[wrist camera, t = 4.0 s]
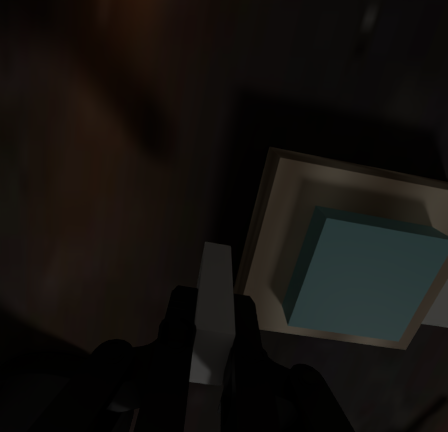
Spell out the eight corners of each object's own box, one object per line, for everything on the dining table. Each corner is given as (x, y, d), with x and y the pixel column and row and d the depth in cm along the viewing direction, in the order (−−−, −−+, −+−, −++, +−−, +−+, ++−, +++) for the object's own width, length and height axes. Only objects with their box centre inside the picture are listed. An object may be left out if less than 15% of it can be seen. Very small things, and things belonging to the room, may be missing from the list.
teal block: (281, 305, 21) (287, 325, 19) (315, 205, 18) (326, 218, 16) (383, 320, 22) (398, 341, 20) (432, 226, 19) (456, 241, 17)
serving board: (232, 292, 25) (234, 325, 22) (269, 146, 20) (280, 157, 17) (379, 314, 26) (405, 349, 23) (447, 181, 22) (494, 199, 18)
